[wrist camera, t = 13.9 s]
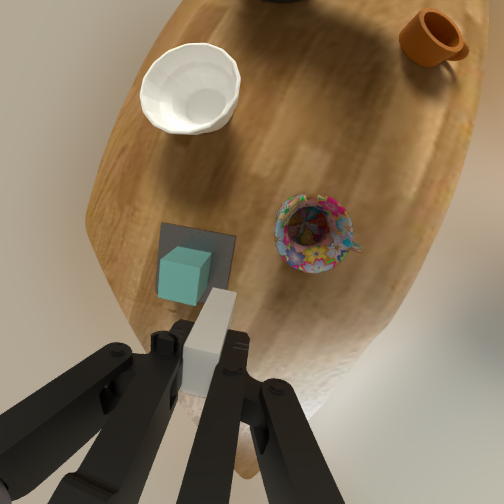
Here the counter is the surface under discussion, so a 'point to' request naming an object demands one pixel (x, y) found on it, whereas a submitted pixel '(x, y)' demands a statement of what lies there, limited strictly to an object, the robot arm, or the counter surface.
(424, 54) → the mug
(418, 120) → the counter surface
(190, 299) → the teal block
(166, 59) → the cup
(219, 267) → the grey square tile
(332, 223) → the mug
